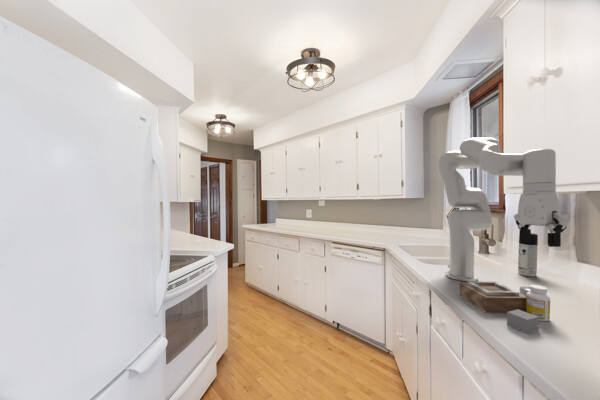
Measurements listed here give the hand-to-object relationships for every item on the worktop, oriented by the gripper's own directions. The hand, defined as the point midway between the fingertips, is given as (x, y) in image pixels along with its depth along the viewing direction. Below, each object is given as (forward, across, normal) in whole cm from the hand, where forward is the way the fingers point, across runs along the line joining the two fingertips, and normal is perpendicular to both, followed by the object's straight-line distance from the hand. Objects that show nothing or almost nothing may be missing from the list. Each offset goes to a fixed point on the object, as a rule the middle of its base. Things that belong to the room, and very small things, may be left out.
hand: (538, 243), depth 78 cm
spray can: (+23, -43, +34) cm, 59 cm away
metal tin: (+23, -16, +12) cm, 31 cm away
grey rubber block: (+24, +6, -10) cm, 26 cm away
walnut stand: (+23, -10, -7) cm, 26 cm away
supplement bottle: (+24, 0, 0) cm, 24 cm away
